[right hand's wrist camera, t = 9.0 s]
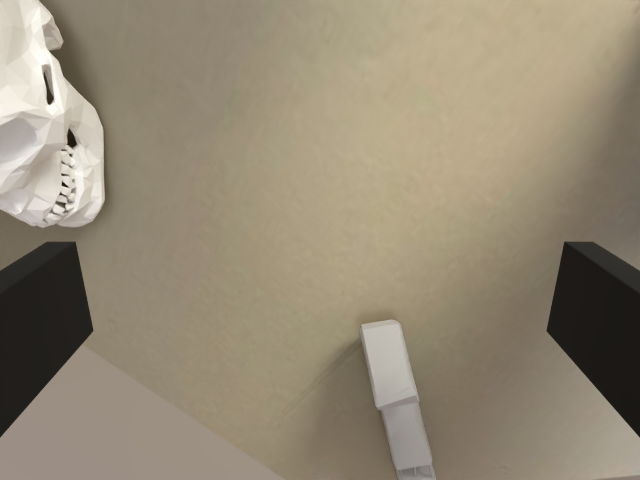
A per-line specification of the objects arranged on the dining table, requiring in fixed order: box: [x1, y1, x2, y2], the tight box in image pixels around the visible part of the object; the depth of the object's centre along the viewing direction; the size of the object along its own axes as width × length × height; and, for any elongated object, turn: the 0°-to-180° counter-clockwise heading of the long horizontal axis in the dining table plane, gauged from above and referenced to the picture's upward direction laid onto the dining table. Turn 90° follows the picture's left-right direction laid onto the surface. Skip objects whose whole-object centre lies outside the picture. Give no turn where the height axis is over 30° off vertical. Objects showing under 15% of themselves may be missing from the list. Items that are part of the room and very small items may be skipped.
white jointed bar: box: [359, 319, 437, 480], centre depth 41 cm, size 20×4×7 cm, turn 15°
